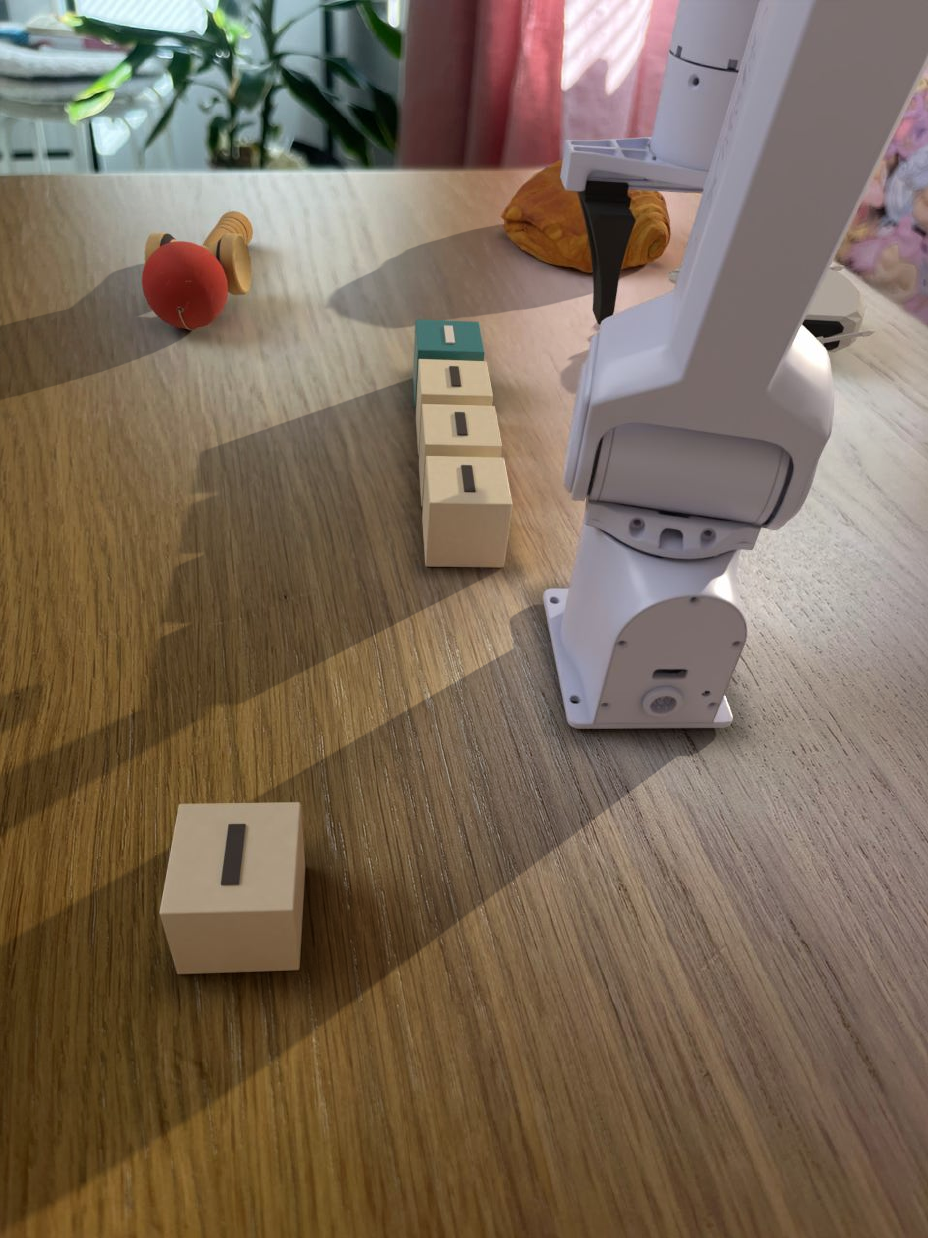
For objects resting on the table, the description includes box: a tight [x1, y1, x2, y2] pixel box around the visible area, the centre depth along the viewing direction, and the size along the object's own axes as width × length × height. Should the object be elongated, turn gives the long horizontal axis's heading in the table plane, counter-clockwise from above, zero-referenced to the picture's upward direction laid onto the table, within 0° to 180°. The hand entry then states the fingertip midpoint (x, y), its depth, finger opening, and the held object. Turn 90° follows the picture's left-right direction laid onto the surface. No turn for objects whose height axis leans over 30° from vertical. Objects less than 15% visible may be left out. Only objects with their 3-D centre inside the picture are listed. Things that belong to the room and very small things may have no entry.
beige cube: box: [421, 456, 513, 568], centre depth 52 cm, size 4×4×4 cm
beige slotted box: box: [159, 801, 306, 975], centre depth 34 cm, size 4×4×4 cm
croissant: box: [500, 158, 672, 274], centre depth 85 cm, size 14×16×8 cm
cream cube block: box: [415, 359, 494, 456], centre depth 60 cm, size 4×4×4 cm
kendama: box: [141, 210, 254, 331], centre depth 72 cm, size 8×6×18 cm
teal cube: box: [412, 318, 486, 410], centre depth 64 cm, size 4×4×4 cm
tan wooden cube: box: [418, 404, 503, 508], centre depth 56 cm, size 4×4×4 cm
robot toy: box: [668, 264, 876, 353], centre depth 74 cm, size 12×4×15 cm
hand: (664, 319), depth 55 cm, fingers open, 7 cm apart
